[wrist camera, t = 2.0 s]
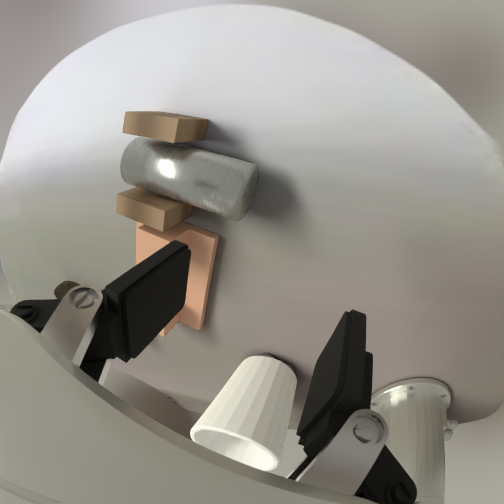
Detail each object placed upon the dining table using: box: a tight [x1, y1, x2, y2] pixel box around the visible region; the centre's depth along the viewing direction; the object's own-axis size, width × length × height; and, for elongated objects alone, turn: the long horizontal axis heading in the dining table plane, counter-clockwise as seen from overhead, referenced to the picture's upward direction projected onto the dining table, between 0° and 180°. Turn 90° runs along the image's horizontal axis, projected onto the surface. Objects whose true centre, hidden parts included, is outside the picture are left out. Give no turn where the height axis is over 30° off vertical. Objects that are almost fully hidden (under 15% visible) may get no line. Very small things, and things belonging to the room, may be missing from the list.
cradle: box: [136, 221, 219, 337], centre depth 30 cm, size 10×13×4 cm
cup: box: [190, 353, 297, 471], centre depth 28 cm, size 10×10×13 cm
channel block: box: [117, 111, 208, 232], centre depth 24 cm, size 6×10×5 cm, turn 166°
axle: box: [120, 137, 258, 221], centre depth 24 cm, size 12×5×5 cm, turn 76°
